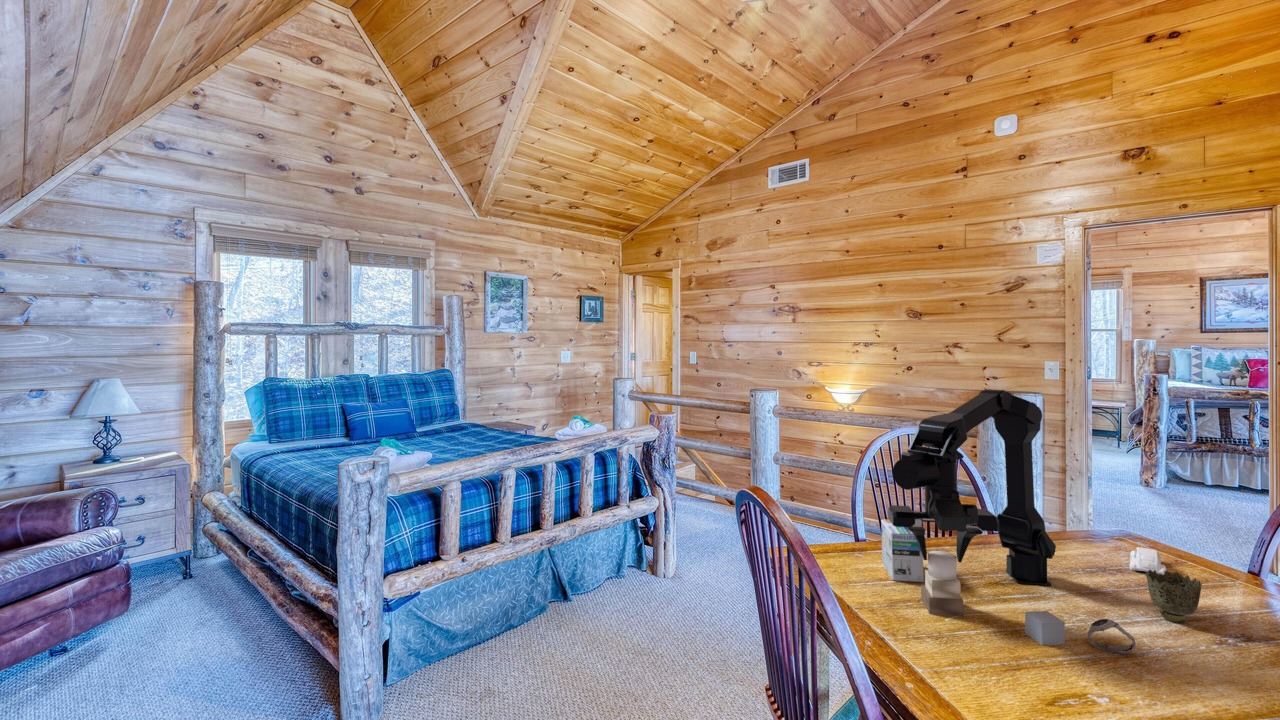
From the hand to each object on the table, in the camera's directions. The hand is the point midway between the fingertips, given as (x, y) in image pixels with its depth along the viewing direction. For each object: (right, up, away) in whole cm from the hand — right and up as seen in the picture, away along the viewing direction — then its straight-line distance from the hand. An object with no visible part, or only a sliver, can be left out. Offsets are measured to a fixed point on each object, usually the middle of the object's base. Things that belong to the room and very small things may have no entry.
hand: (942, 560), depth 109 cm
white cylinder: (0, -3, 0) cm, 3 cm away
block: (+12, -10, -12) cm, 19 cm away
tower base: (0, -10, 0) cm, 10 cm away
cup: (+40, -9, -7) cm, 41 cm away
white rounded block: (+57, -8, +17) cm, 60 cm away
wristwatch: (+20, -10, -16) cm, 27 cm away
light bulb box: (0, -9, +18) cm, 20 cm away
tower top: (0, -6, 0) cm, 6 cm away
